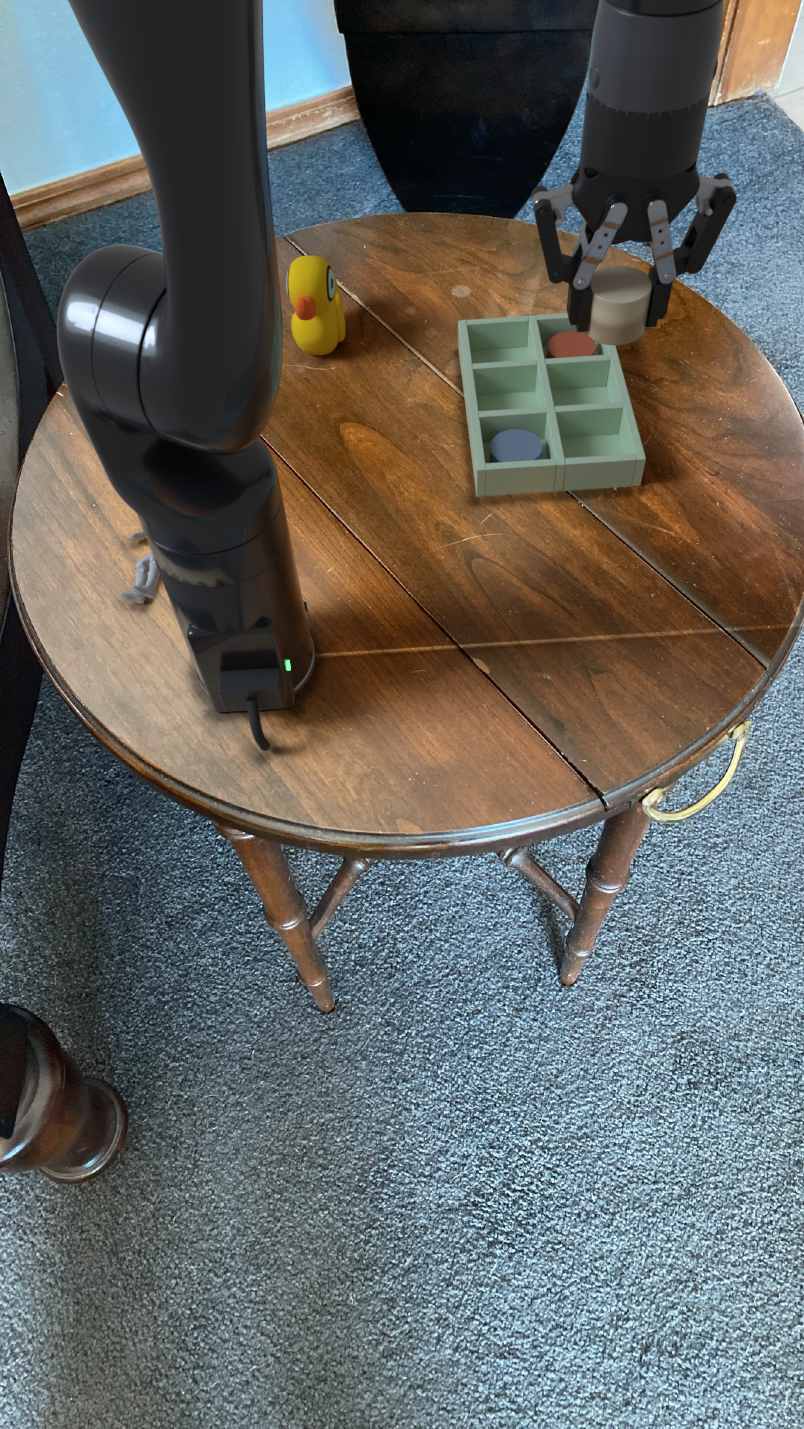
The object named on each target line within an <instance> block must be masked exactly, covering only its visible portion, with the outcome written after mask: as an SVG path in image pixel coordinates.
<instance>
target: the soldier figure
mask: <svg viewBox="0 0 804 1429" xmlns="http://www.w3.org/2000/svg"><path fill="white" fill-rule="evenodd" d="M143 537H145V538H146V535H145V533H144V530H140V531H136V532H134V533H132V534H130V535H129V536H128V537H127V541H130V540H131V539H133V538H135V544H136V543H138V542H139V541H140V540H141V539H142V538H143ZM134 575H135V584H132V585H130V590H132V591H131V592H124V591H120V592H118V596H119V597H121V598H122V599H123V600H125V601H128V602H135V603H137V604H139V605H142V604H144V603H145V598H149V599H155V598H156V595H157V590H156V588H157V585H158V583H159V580H160V577H161V576H160V573H159V571H158V568H157V565H156V563H155V560H154V557H153V554H152V551H151V552H149V553H148V554H147V555H144V557H142V558H141V559H139V560H138V561H137V562H136V566H135V570H134Z"/></svg>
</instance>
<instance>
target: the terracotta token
mask: <svg viewBox="0 0 804 1429" xmlns="http://www.w3.org/2000/svg"><path fill="white" fill-rule="evenodd" d="M595 350H596V344H595V342H594V340H593V339H591V338H590V337H589V336H588V335H586V334H584V333H581V332H575V331H567V332H562V333H558V334H556V335H554V336H553V337H552V338H551V339H550V340H549V342H548V345H547V356H546V359H551V358H565V357H580V356H595Z"/></svg>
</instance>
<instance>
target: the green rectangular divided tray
mask: <svg viewBox="0 0 804 1429" xmlns="http://www.w3.org/2000/svg"><path fill="white" fill-rule="evenodd" d="M567 331H575V332H577V331H576V326H575V325H571V324H570V322H569V318H568V313H567V312H561V313H560V312H559V313H546V314H533V315H517V316H504V317H503V316H501V317H489V318H488V317H487V318H476V319H475V318H474V319H473V318H472V319H460V320H458V321H457V348H458V356H459V364H460V374H461V381H462V388H463V397H464V398H463V399H464V406H465V413H466V414H465V415H466V422H467V430H468V438H469V439H468V440H469V447H470V455H471V463H472V470H473V478H474V479H473V480H474V487H475V488H474V489H475V496H476V497H493V496H507V495H521V494H523V495H524V494H538V493H539V494H540V493H552V492H567V491H569V492H570V491H582V490H583V491H584V490H596V489H612V488H614V489H615V488H628V487H640V486H641V485H642V480H643V476H644V470H645V466H646V461H647V457H646V454H645V450H644V446H643V443H642V442H643V441H642V439H641V435H640V432H639V428H638V424H637V420H636V417H635V412H634V408H633V405H632V401H631V398H630V394H629V390H628V387H627V383H626V379H625V376H624V372H623V368H622V364H621V360H620V357H619V353H618V350H617V345H606V344H602V343H599V342H597V341H595V340H594V342H595V344H596V350H595V356H580V357H565V358H551V359H546V356H547V345H548V342H549V340H550V339H551V338H552V337H553V336H554V335H556V334H558V333H562V332H567ZM581 333H584V334H586V332H581ZM586 335H587V334H586ZM510 429H521V430H526V431H529V432H531V433H533V434H535V435H536V436H537V437H538V438H539V439H540V441H541V443H542V457H541V460H529V461H514V462H499V463H489V459H490V443H491V441H492V439H493V438H494V437H495V436H496V435H497V434H499V433H501V432H503V431H506V430H510Z"/></svg>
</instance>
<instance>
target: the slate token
mask: <svg viewBox="0 0 804 1429" xmlns="http://www.w3.org/2000/svg"><path fill="white" fill-rule="evenodd" d="M541 457H542V443H541V441H540V439H539V438H538V437H537V436H536V435H535V434H533V433H531V432H529V431H526V430H521V429H510V430H506V431H503V432H501V433H499V434H497V435H496V436H495V437H494V438H493V439H492V441H491V443H490V459H489V463H499V462H514V461H529V460H541Z"/></svg>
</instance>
